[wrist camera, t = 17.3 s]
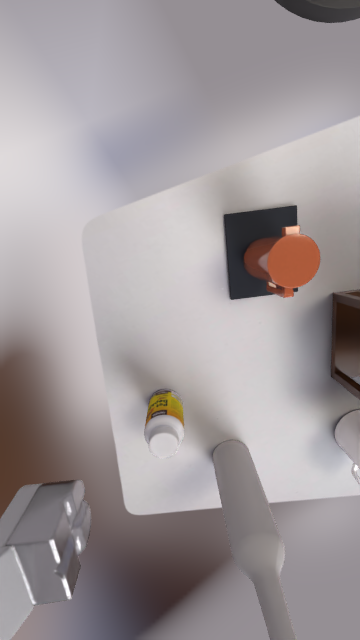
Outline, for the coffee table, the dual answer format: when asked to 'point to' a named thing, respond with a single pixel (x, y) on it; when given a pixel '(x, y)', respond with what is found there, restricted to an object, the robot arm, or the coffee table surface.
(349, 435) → the mug
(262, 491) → the bottle
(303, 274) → the orange two-handled pot
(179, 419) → the supplement bottle
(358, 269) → the coffee table surface
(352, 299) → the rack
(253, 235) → the mat
